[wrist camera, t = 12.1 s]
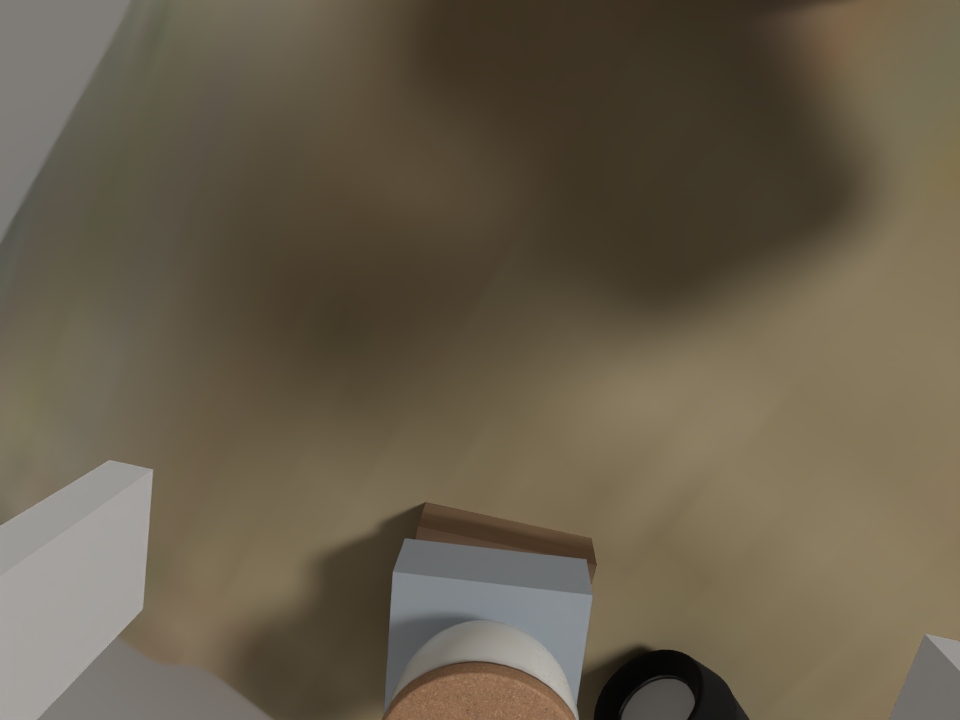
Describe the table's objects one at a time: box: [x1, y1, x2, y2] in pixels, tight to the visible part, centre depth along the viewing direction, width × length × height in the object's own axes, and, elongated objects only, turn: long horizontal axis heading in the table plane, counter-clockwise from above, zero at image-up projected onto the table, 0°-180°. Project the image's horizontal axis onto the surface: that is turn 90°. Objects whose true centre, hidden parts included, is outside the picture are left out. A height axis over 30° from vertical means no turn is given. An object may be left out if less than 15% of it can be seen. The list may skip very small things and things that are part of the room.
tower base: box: [415, 502, 597, 584], centre depth 45 cm, size 12×12×4 cm
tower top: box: [384, 538, 593, 714], centre depth 41 cm, size 12×12×4 cm
